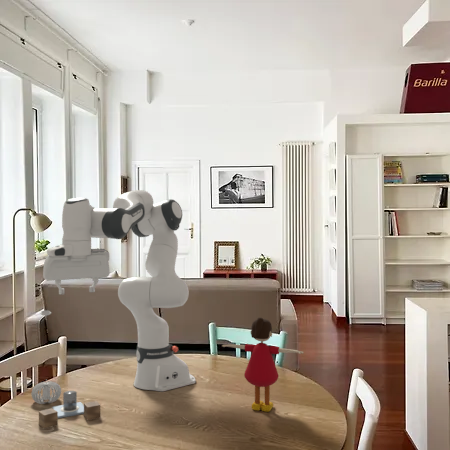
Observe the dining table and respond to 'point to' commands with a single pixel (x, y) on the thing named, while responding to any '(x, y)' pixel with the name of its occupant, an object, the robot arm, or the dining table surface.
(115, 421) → the dining table surface
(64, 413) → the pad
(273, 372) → the toy
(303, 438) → the dining table surface
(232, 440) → the dining table surface
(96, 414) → the walnut cube
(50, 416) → the walnut cube
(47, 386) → the pendant light
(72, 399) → the metal cylinder
